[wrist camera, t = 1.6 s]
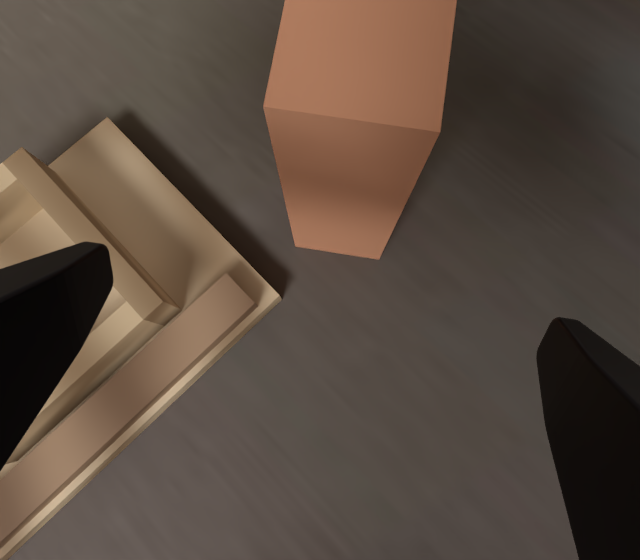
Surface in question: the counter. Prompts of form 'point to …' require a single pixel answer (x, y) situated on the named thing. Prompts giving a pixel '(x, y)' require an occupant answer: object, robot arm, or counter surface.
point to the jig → (116, 312)
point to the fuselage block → (355, 114)
